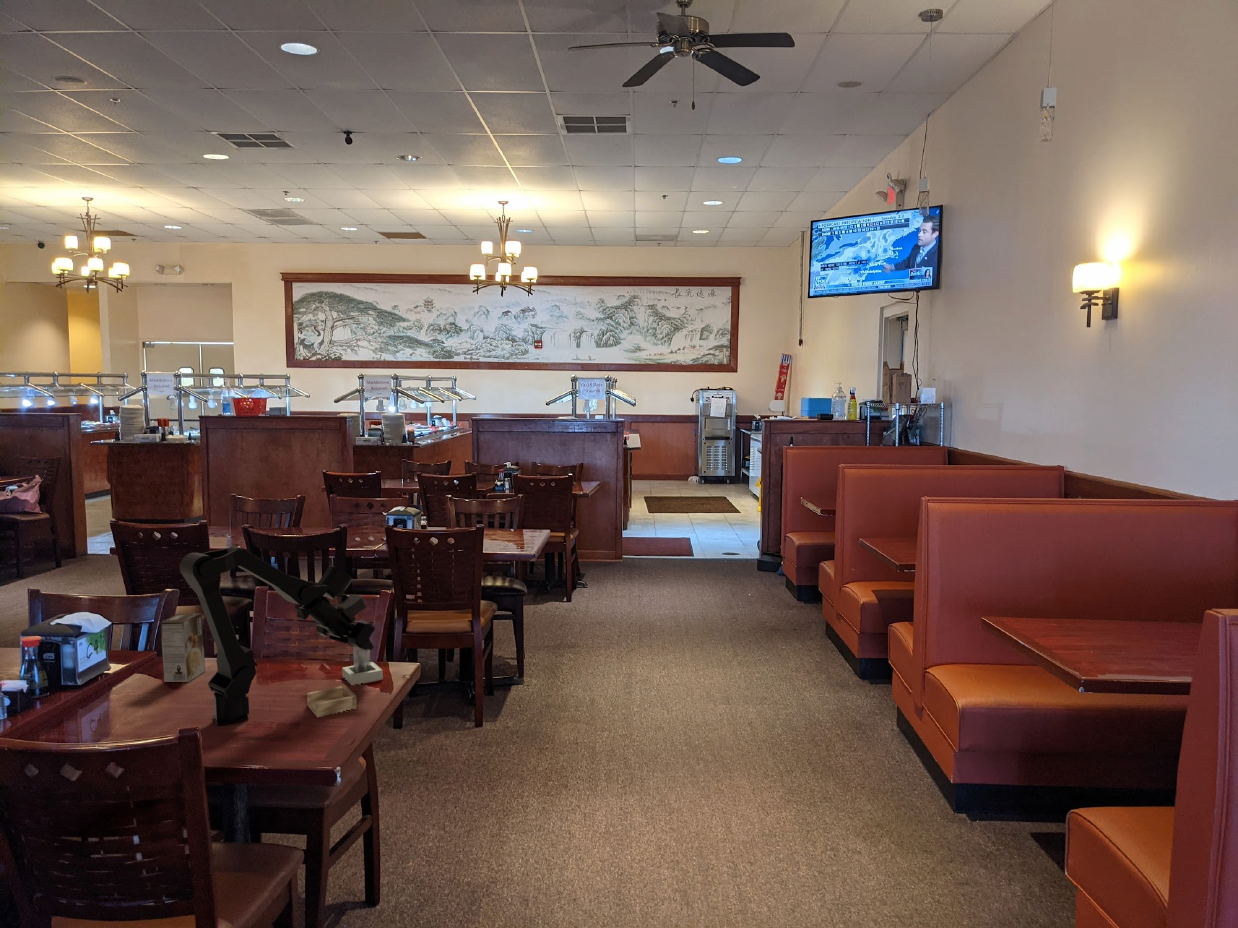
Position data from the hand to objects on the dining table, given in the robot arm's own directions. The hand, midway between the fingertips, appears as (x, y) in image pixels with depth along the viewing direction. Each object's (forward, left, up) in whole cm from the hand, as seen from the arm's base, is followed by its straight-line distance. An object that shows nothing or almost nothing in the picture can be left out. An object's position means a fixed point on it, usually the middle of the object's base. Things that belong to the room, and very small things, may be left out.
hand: (366, 646), depth 220 cm
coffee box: (-39, +28, -8) cm, 49 cm away
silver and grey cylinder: (-1, 0, -8) cm, 8 cm away
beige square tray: (-13, -16, -8) cm, 23 cm away
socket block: (-1, 0, -8) cm, 8 cm away
